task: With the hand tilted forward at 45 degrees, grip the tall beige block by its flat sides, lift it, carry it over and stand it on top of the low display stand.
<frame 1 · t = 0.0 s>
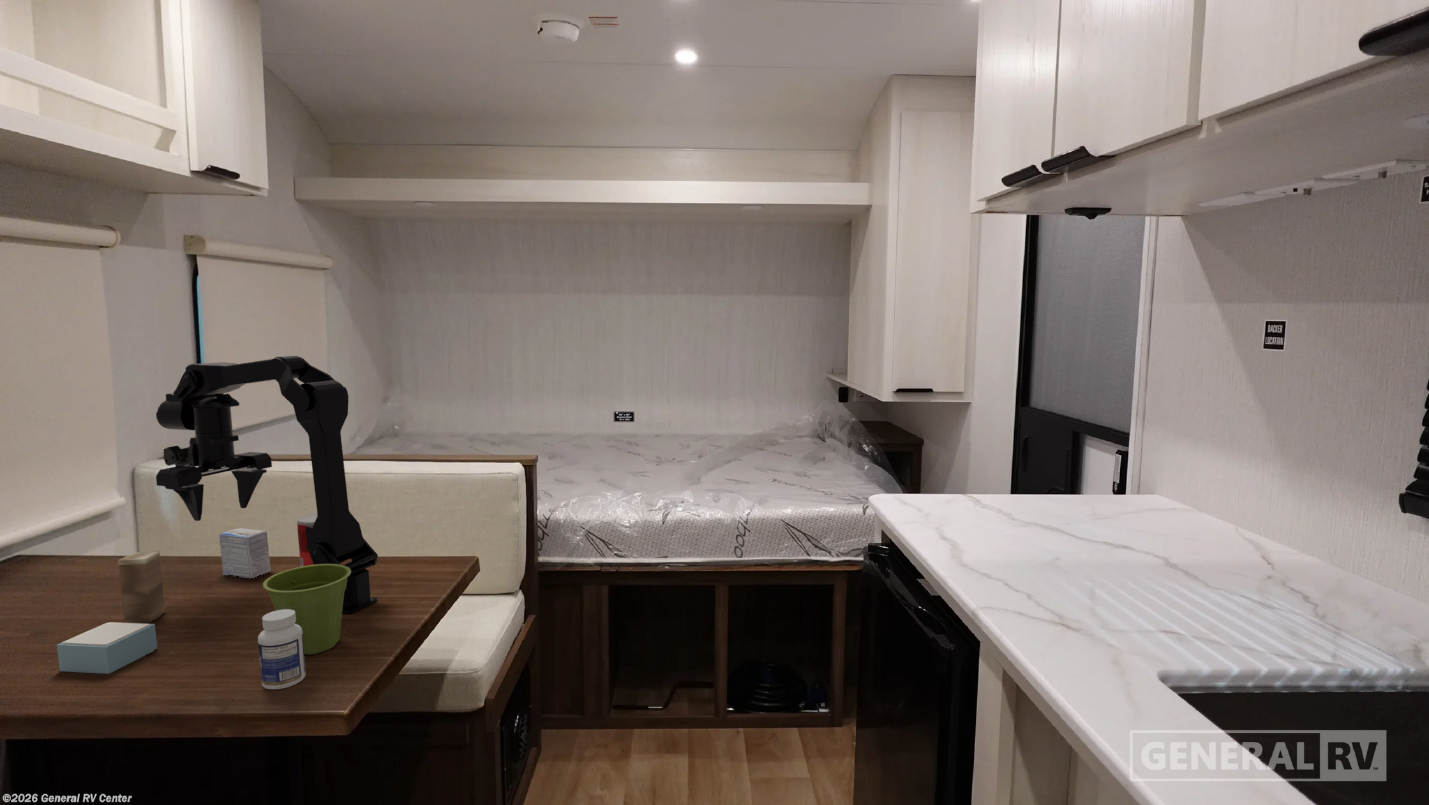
hand: (221, 514, 137), 15 cm above the table, tool pointing down, fingers open, 9 cm apart
plant pot: (313, 647, 114), on the table
medicine box: (247, 575, 148), on the table
beige block: (145, 618, 126), on the table
display stand: (110, 659, 110), on the table
canned food: (322, 570, 149), on the table
pill bottle: (284, 682, 103), on the table
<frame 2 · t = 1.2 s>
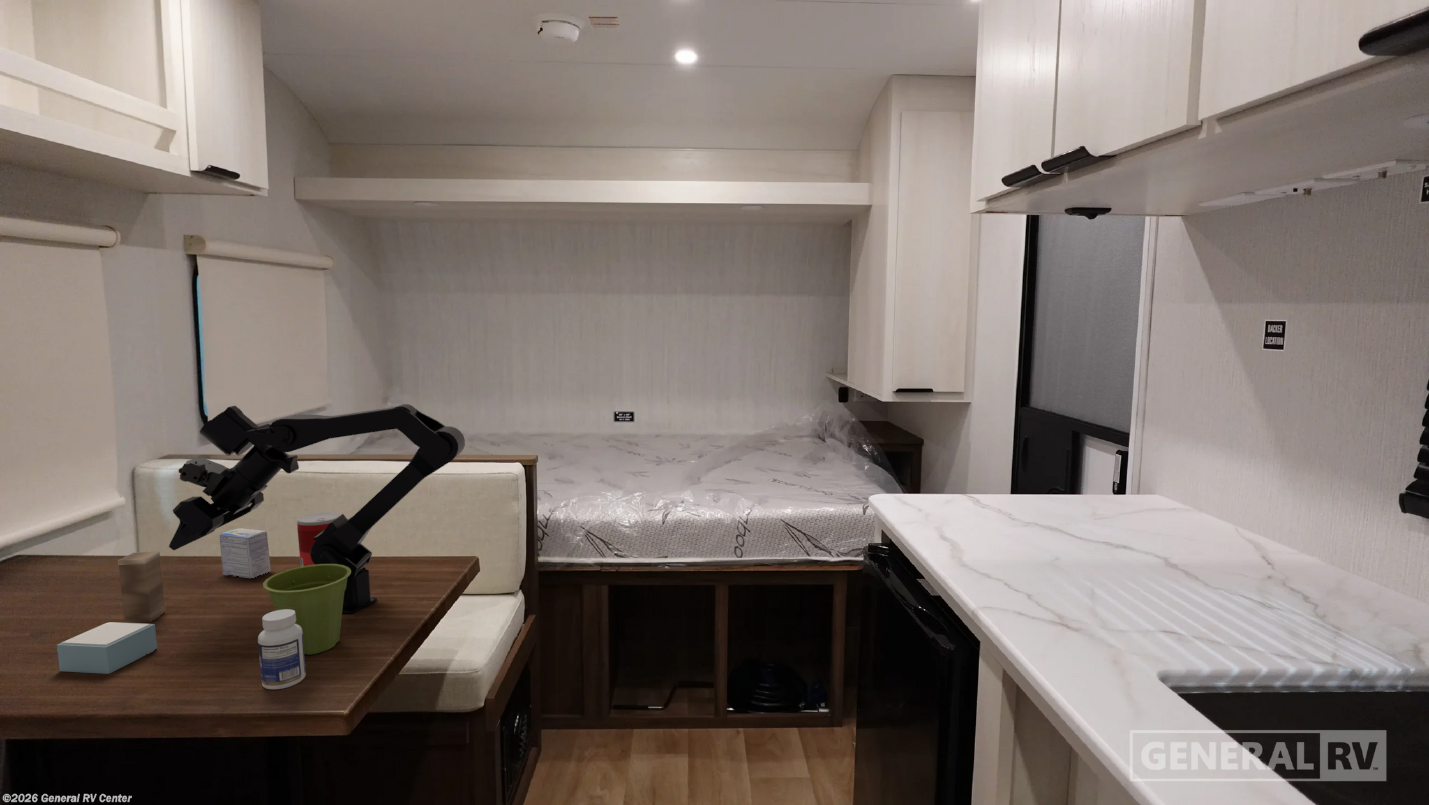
hand: (187, 540, 125), 13 cm above the table, tool tilted 45°, fingers open, 9 cm apart
nothing on the table moved.
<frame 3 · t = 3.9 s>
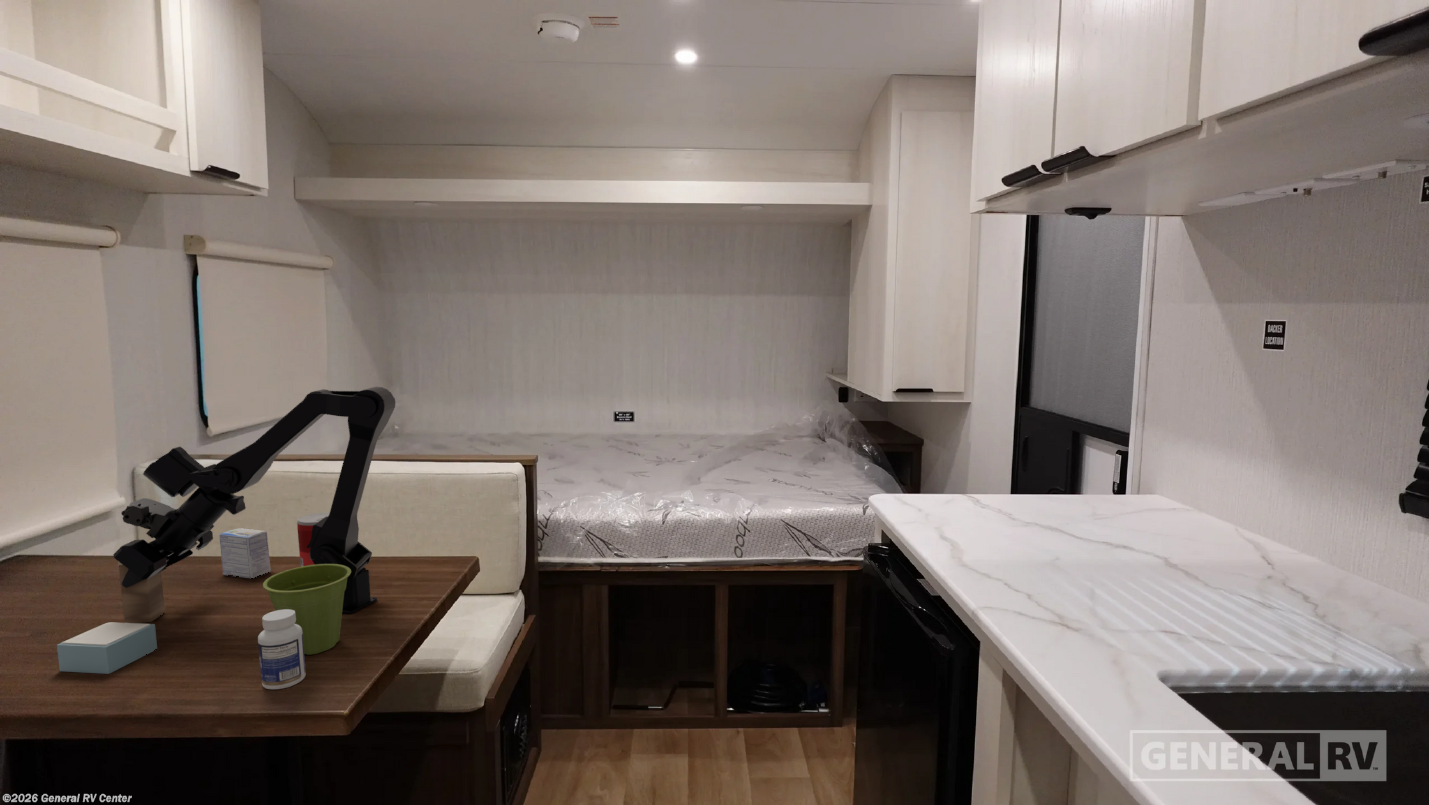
hand: (132, 581, 125), 7 cm above the table, tool tilted 45°, fingers closed on beige block, 4 cm apart
beige block: (145, 618, 126), on the table, touching gripper
everything else where it was.
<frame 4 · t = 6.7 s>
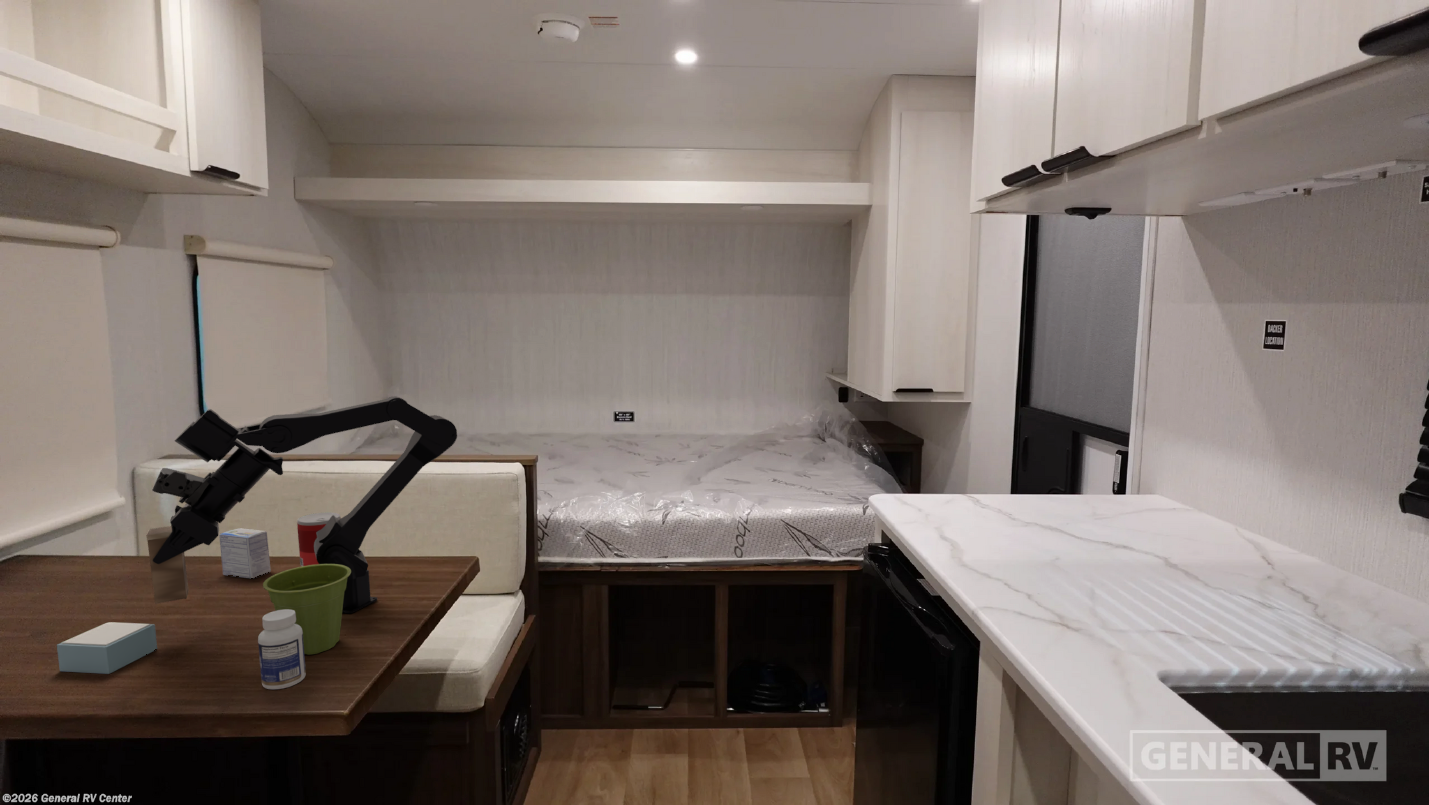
hand: (156, 558, 115), 13 cm above the table, tool tilted 45°, fingers closed on beige block, 4 cm apart
beige block: (172, 597, 116), point 7 cm above the table, touching gripper
everything else where it was.
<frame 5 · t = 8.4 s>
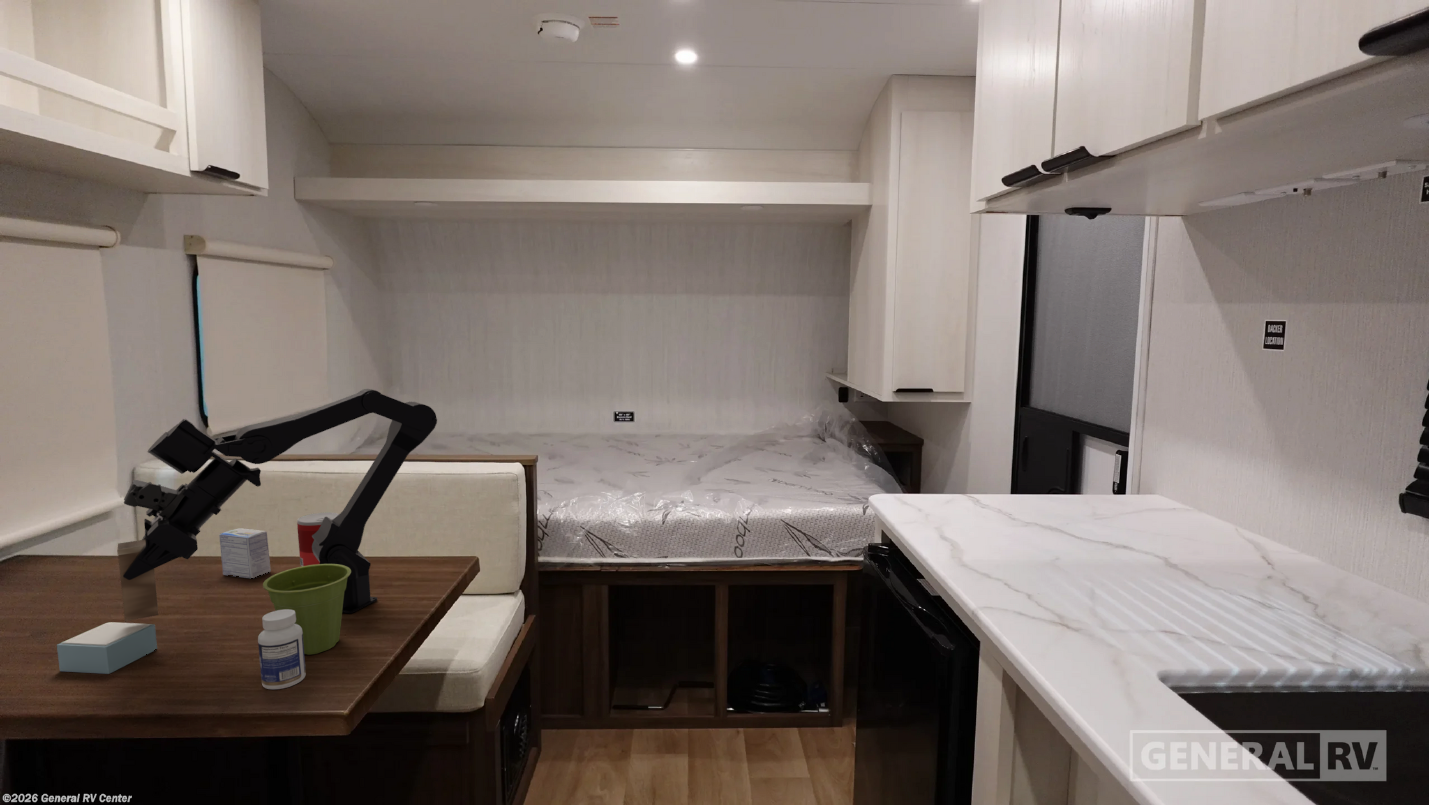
hand: (126, 574, 111), 13 cm above the table, tool tilted 45°, fingers closed on beige block, 4 cm apart
beige block: (141, 614, 112), point 6 cm above the table, touching gripper
everything else where it was.
when the fingers open (11 cm above the table, at t = 9.7 s): beige block stays where it is, resting on display stand.
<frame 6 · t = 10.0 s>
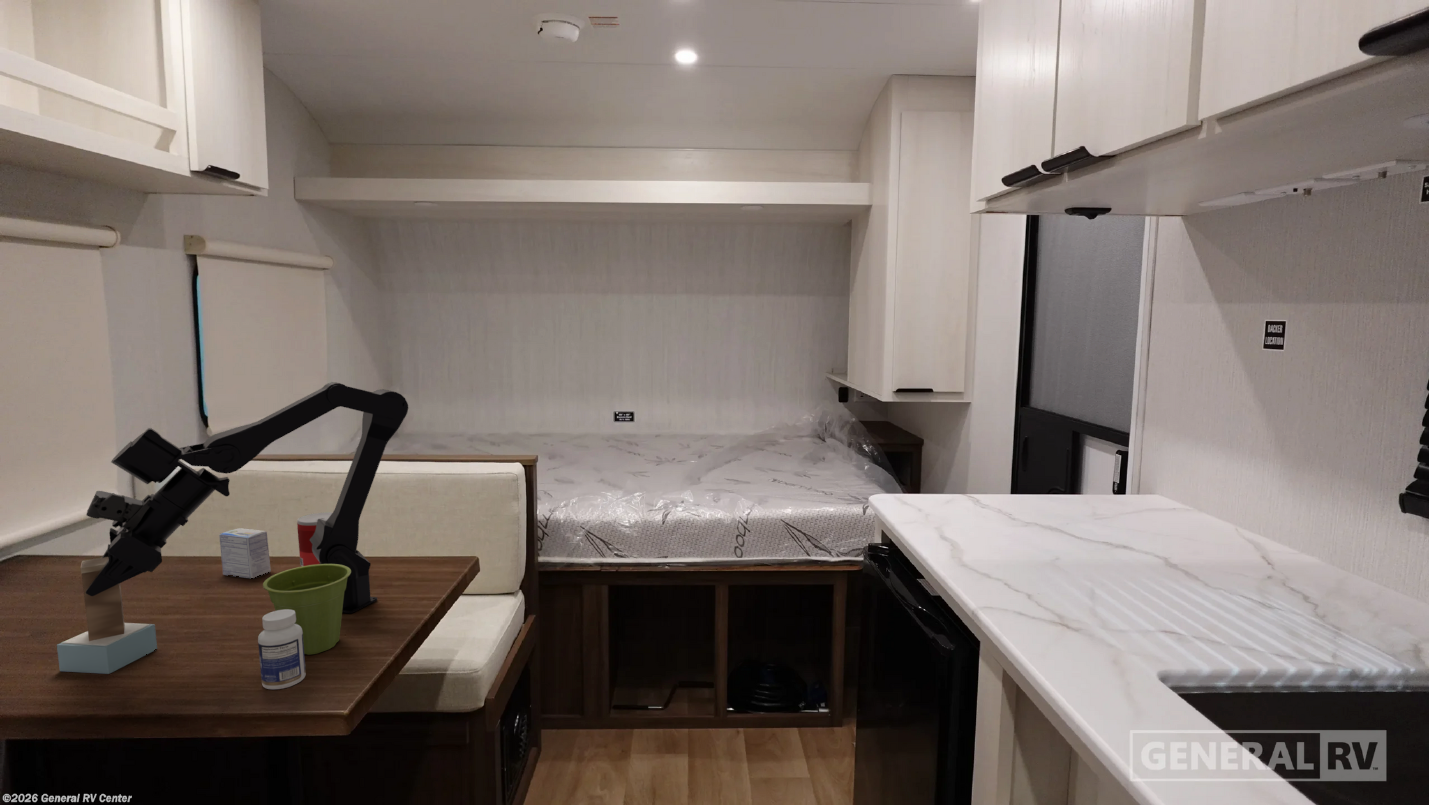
hand: (89, 587, 108), 12 cm above the table, tool tilted 45°, fingers open, 7 cm apart
beige block: (107, 633, 110), point 4 cm above the table, touching display stand
everything else where it was.
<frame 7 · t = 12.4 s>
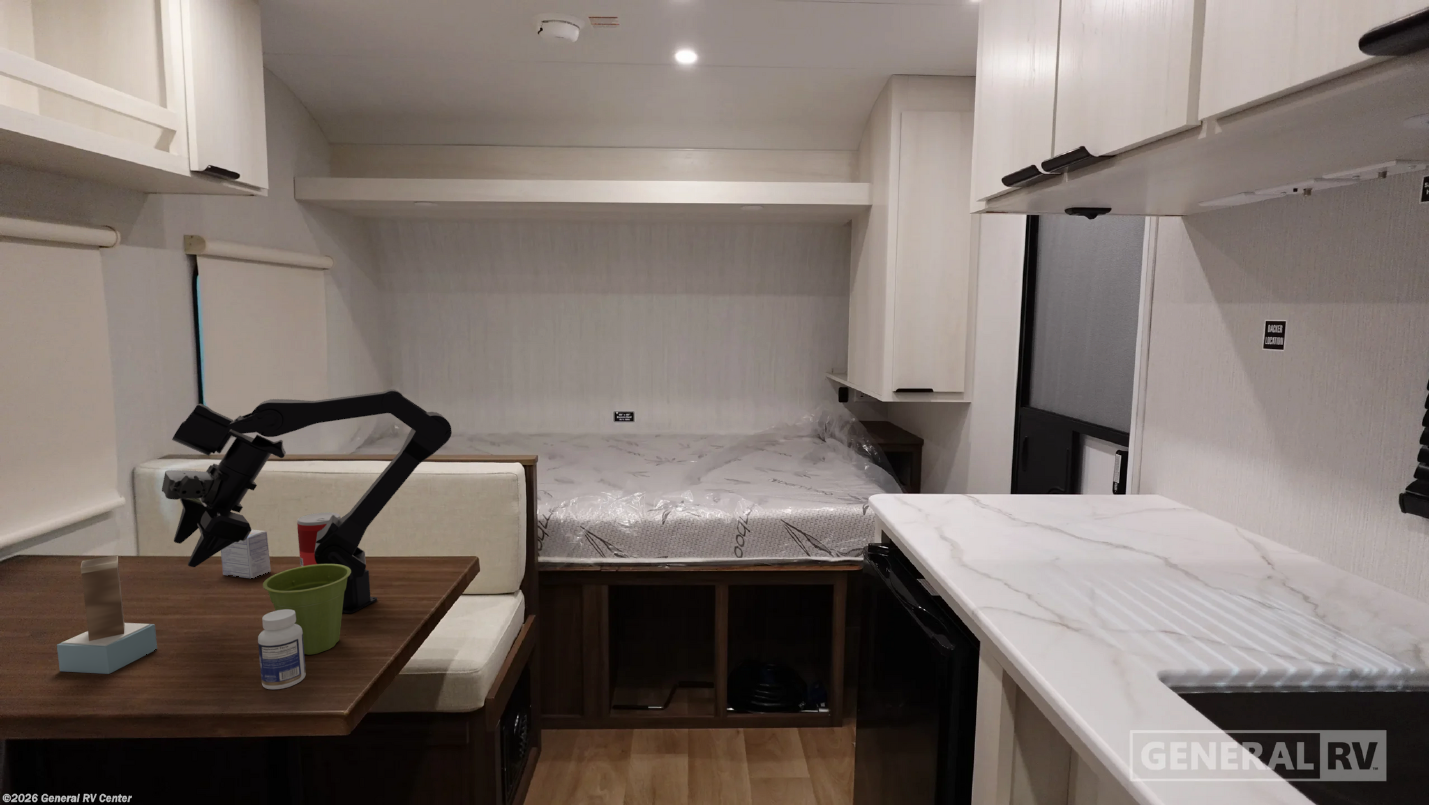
hand: (183, 554, 119), 13 cm above the table, tool tilted 35°, fingers open, 9 cm apart
nothing on the table moved.
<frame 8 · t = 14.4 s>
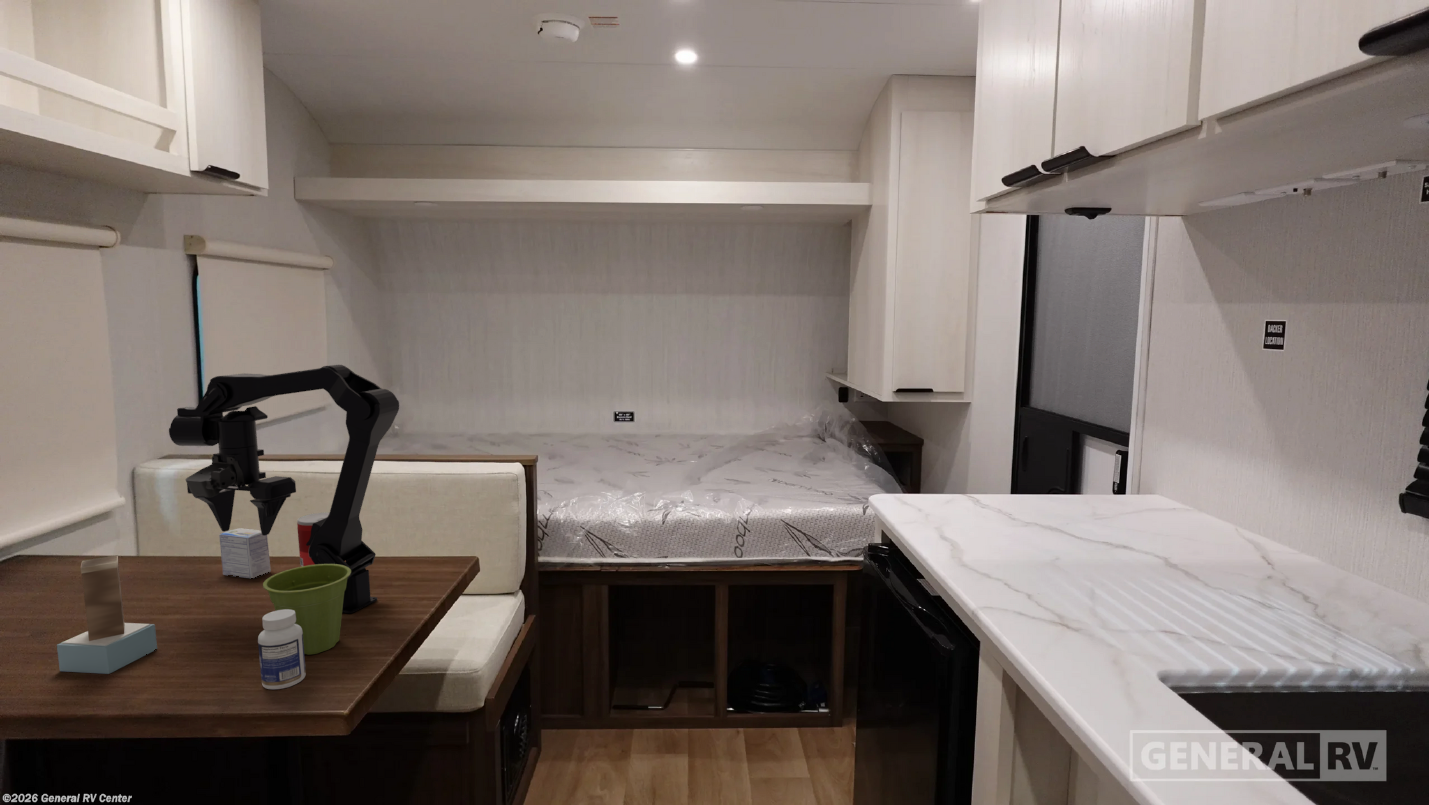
hand: (245, 533, 130), 13 cm above the table, tool pointing down, fingers open, 9 cm apart
nothing on the table moved.
at the end: beige block 0.0 cm from the display stand (horizontally); beige block point 4.2 cm above the table; beige block tilted 0° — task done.
